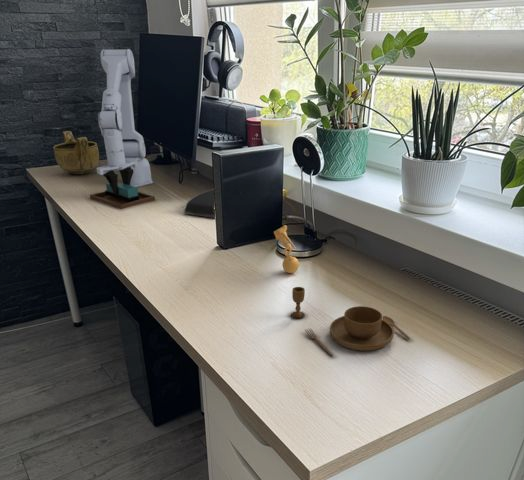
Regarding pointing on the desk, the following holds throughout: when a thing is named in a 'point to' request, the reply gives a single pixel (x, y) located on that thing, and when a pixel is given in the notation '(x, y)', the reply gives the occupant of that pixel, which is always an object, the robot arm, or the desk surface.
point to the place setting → (354, 326)
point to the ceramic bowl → (76, 154)
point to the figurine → (289, 262)
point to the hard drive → (201, 205)
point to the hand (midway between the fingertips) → (121, 192)
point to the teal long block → (123, 192)
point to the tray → (121, 203)
